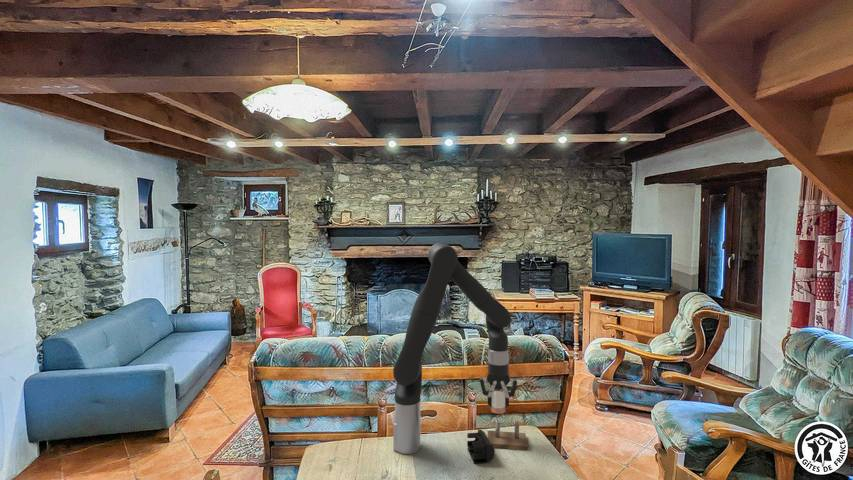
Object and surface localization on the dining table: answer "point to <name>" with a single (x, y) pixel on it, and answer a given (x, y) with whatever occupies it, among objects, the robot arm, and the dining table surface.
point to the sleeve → (498, 401)
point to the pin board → (508, 438)
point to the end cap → (480, 447)
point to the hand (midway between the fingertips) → (498, 406)
